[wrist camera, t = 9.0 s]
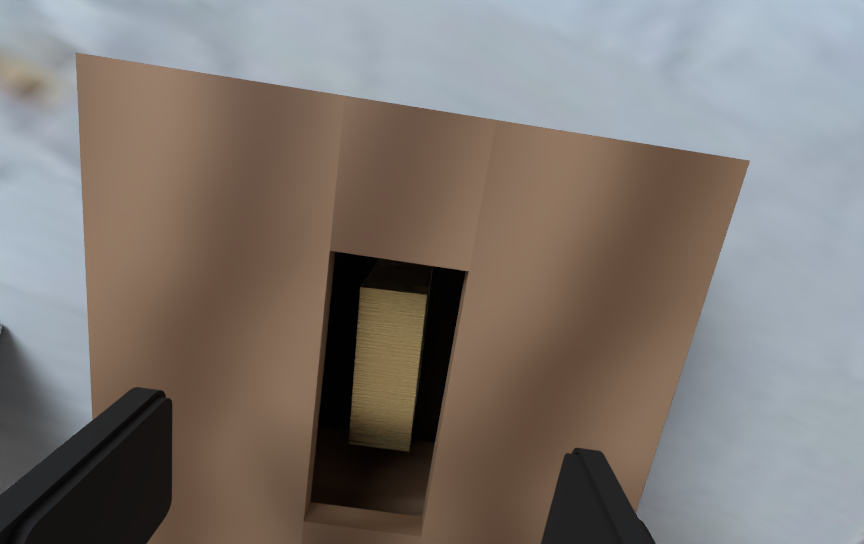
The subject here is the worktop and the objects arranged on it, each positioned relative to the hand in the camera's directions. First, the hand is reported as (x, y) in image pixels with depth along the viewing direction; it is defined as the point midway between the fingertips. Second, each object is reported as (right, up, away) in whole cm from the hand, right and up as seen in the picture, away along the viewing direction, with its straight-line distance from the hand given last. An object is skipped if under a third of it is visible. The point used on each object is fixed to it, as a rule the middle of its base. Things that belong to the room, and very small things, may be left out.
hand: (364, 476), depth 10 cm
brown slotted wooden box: (0, +3, +11) cm, 12 cm away
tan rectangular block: (0, +5, +8) cm, 9 cm away
